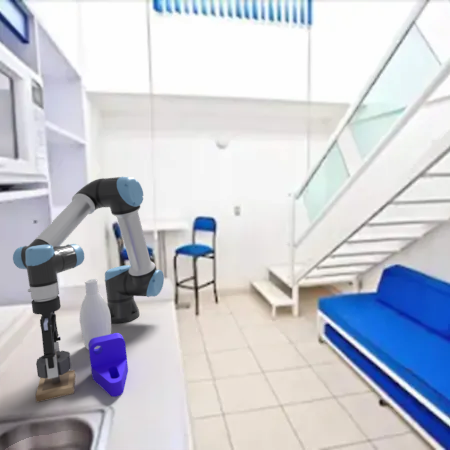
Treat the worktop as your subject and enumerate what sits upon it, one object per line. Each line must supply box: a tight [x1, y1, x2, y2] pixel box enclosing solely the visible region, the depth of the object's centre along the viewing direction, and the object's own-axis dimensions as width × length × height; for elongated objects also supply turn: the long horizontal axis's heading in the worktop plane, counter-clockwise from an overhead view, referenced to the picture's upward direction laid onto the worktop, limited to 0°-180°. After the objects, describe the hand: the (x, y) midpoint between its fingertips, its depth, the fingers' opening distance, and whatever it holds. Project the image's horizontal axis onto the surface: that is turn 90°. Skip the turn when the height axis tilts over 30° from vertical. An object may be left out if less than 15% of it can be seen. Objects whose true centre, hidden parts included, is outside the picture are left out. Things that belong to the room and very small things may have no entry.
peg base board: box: [35, 349, 76, 403], centre depth 113 cm, size 11×10×12 cm
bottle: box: [79, 278, 112, 351], centre depth 141 cm, size 11×11×25 cm
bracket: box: [88, 332, 129, 398], centre depth 115 cm, size 18×11×12 cm, turn 25°
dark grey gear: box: [35, 350, 72, 379], centre depth 113 cm, size 9×9×4 cm
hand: (54, 369), depth 113 cm, fingers closed on dark grey gear, 9 cm apart
